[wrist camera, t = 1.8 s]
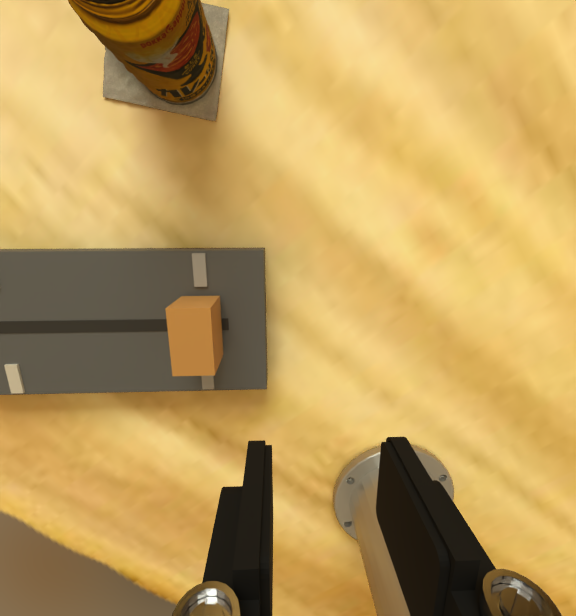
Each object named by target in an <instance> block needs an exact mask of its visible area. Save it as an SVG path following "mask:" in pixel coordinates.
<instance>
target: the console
mask: <svg viewBox="0 0 576 616" xmlns="http://www.w3.org/2000/svg"><path fill="white" fill-rule="evenodd" d="M181 296H220V305H221V322H222V339H223V357H222V359H221V362H220V364H219V367H218V369H217V372H216V374H215V375H214V376H172V366H171V357H170V347H169V338H168V328H167V319H166V309H165V308H167V307H168V306H169V305H171V304H172V303H173V302H175V301H176V300H177V299H178V298H180V297H181ZM247 389H267V339H266V292H265V248H147V249H0V395H12V394H59V393H106V392H153V391H200V390H247Z"/></svg>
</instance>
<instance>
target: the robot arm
mask: <svg viewBox="0 0 576 616" xmlns="http://www.w3.org/2000/svg"><path fill="white" fill-rule="evenodd" d="M453 499H454V487H453V482H452V479H451V477H450V475H449V472H448V471H447V469H446V468H445V466H444V465H443V464H442V462H441V461H440V460H439V459H438V458H437V457H436V456H435V455H433V454H432V453H430V452H429V451H427V450H425V449H422V448H420V447H417V446H413V445H410V443H409V441H408V440H407V438H406V437H388V438H387V439H386V442H382V443H381V446H379V447H376V448H373V449H370V450H368V451H366V452H364V453H362V454H360V455H359V456H358V457H356V458H355V459H354V460H352V461H351V462H350V463H349V464H348V465H347V466H346V467H345V468H344V469H343V471H342V472H341V474H340V476H339V477H338V479H337V482H336V484H335V487H334V493H333V503H334V509H335V513H336V517H337V519H338V521H339V523H340V525H341V526H342V528H343V529H344V530H345V531H346V532H347V533H348V534H349V535H350V536H351V537H353V538H354V539H356V540H358V544H359V548H360V551H361V555H362V559H363V563H364V567H365V571H366V575H367V579H368V582H369V586H370V590H371V594H372V598H373V602H374V606H375V609H376V613H377V616H562V615H561V613H560V612H559V610H558V608H557V607H556V605H555V604H554V603H553V601H552V600H551V599H550V597H549V596H548V595H547V594H546V593H545V592H544V591H543V590H542V589H541V588H540V587H539V586H538V585H536V584H535V583H533V582H532V581H531V580H529V579H528V578H526V577H524V576H522V575H520V574H518V573H516V572H514V571H510V570H505V569H496V568H495V567H494V565H493V564H492V562H491V560H490V559H489V557H488V556H487V554H486V553H485V551H484V549H483V548H482V546H481V545H480V543H479V542H478V540H477V538H476V537H475V535H474V534H473V532H472V531H471V529H470V528H469V526H468V524H467V523H466V521H465V520H464V518H463V517H462V515H461V513H460V512H459V510H458V509H457V507H456V506H455V504H454V502H453ZM272 580H273V485H272V445H265V441H249V442H248V449H247V457H246V465H245V473H244V481H243V486H241V487H223V488H222V490H221V494H220V499H219V504H218V509H217V514H216V519H215V523H214V528H213V533H212V538H211V543H210V548H209V553H208V558H207V563H206V567H205V572H204V577H203V582H202V583H201V584H199V585H196V586H195V587H194V588H192V589H191V590H189V591H188V592H187V593H186V594H185V595H184V596H183V597H182V598H181V600H180V601H179V602H178V604H177V606H176V608H175V610H174V612H173V614H172V616H272Z"/></svg>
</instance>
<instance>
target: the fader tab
mask: <svg viewBox="0 0 576 616" xmlns="http://www.w3.org/2000/svg"><path fill="white" fill-rule="evenodd" d="M165 309H166V319H167V328H168V338H169V347H170V357H171V366H172V376H214V375H215V374H216V372H217V369H218V367H219V364H220V362H221V359H222V357H223V339H222V322H221V305H220V296H181V297H180V298H178V299H177V300H176V301H175V302H173V303H172V304H171V305H169V306H168V307H167V308H165Z"/></svg>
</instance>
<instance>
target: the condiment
mask: <svg viewBox="0 0 576 616" xmlns="http://www.w3.org/2000/svg"><path fill="white" fill-rule="evenodd" d="M68 1H69V4H70V5H71V7H72V8H73V9H74V11H75V12H76V13H77V14H78V16H79V17H80V19H81V20H82V22H83V23H84V25H85V26H86V27H87V28H88V29H89V30H90V31H91V32H93V33H94V34H95V35H96V36H97V38H98V39H99V40H100V41H101V43H102V44H103V45H104V46H105V50H106V52H105V58H104V81H103V97H106V98H111V99H116V100H120V101H124V102H130V103H134V104H139V105H143V106H147V107H152V108H156V109H160V110H165V111H169V112H174V113H179V114H183V115H188V116H192V117H198V118H202V119H206V120H212V121H216V116H217V107H218V99H219V91H220V83H221V75H222V66H223V57H224V48H225V39H226V29H227V20H228V12H229V9H226V8H222V7H218V6H213V5H209V4H204V3H201V1H200V0H68Z"/></svg>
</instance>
